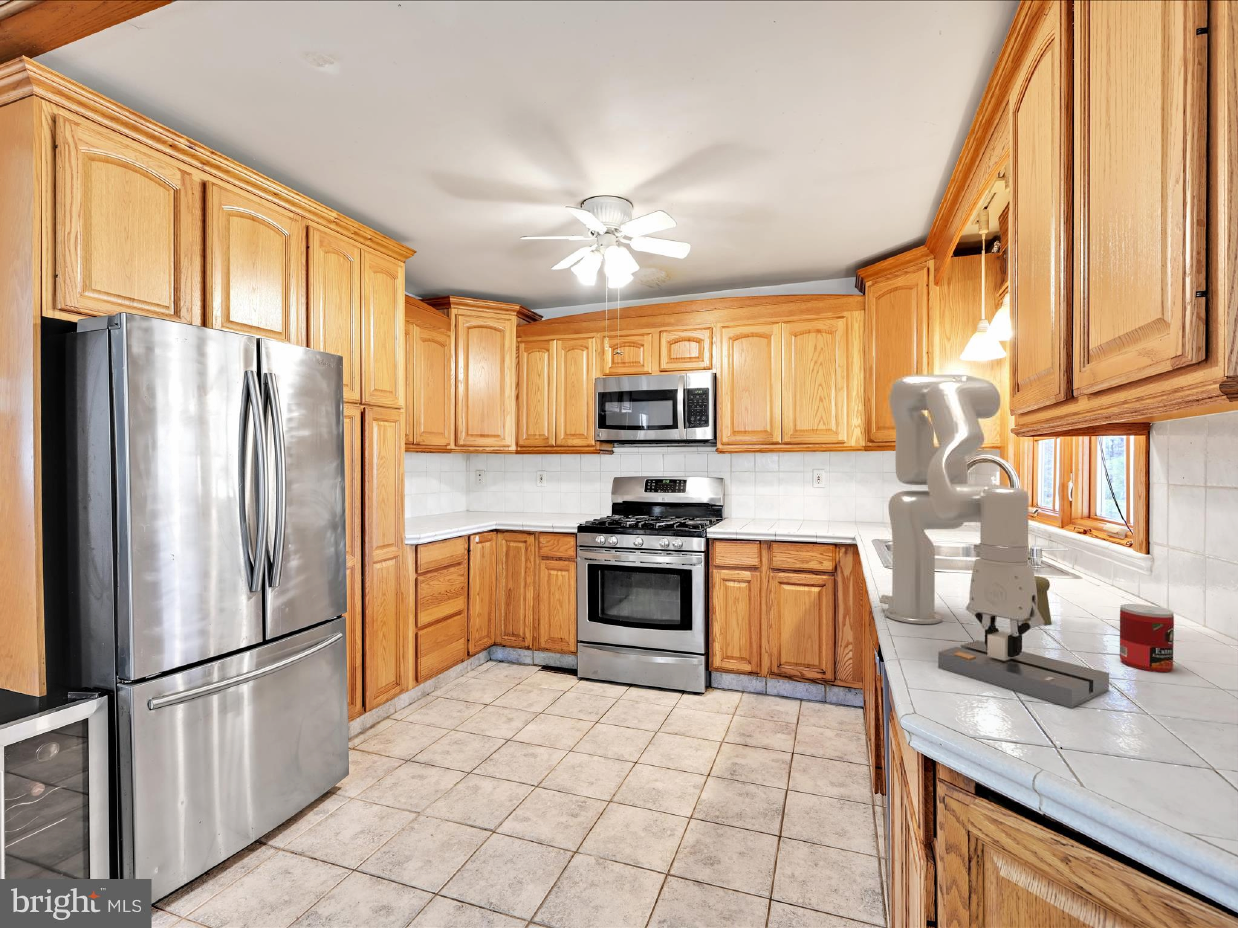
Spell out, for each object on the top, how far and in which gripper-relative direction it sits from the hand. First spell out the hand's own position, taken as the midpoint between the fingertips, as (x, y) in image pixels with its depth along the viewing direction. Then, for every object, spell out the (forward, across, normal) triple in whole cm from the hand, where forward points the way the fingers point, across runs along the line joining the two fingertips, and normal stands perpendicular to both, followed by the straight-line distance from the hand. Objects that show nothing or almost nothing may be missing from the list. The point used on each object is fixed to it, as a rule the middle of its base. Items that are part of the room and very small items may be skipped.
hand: (1003, 652), depth 113 cm
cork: (+4, -14, +44) cm, 46 cm away
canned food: (+4, +12, +28) cm, 31 cm away
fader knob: (+3, 0, 0) cm, 3 cm away
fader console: (+4, +3, 0) cm, 5 cm away
